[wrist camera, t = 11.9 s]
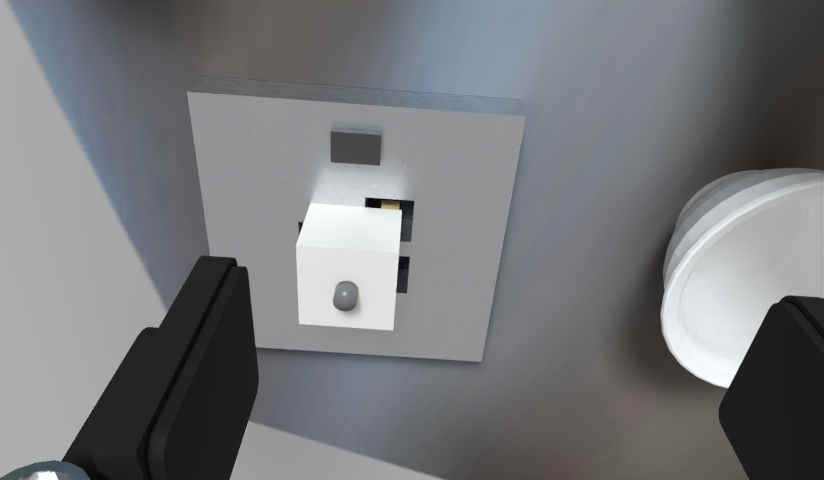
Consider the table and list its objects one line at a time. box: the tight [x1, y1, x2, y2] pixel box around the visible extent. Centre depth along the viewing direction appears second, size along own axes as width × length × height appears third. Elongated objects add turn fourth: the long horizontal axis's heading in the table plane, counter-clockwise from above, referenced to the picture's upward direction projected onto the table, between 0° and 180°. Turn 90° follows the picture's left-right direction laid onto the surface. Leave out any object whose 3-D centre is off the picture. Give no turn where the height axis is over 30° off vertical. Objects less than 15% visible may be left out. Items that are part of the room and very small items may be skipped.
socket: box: [187, 76, 526, 362], centre depth 41 cm, size 20×20×4 cm
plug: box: [296, 200, 402, 330], centre depth 38 cm, size 6×6×8 cm
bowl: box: [660, 168, 824, 388], centre depth 38 cm, size 16×16×9 cm
